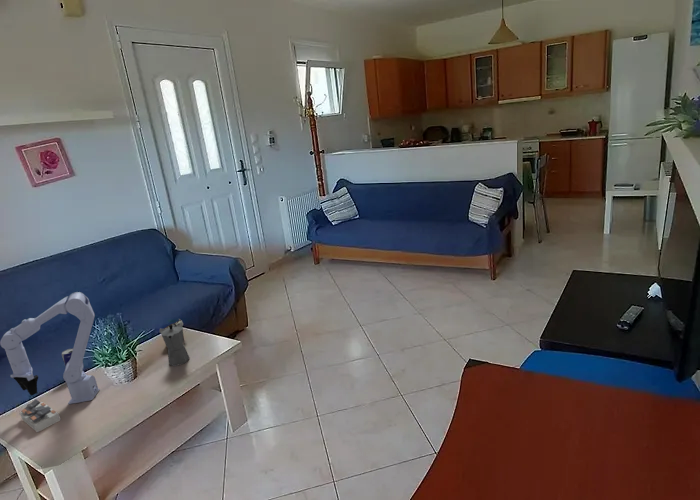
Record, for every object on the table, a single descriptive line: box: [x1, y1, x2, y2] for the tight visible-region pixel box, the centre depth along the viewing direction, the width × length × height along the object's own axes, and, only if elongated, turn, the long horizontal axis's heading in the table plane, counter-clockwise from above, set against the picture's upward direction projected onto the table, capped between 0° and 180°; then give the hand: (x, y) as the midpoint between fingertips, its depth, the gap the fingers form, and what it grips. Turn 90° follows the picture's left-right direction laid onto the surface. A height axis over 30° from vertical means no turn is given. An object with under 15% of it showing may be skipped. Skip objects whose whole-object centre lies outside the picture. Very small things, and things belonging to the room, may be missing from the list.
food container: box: [159, 318, 185, 340], centre depth 224 cm, size 12×6×10 cm, turn 147°
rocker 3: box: [30, 407, 51, 422], centre depth 169 cm, size 6×4×2 cm, turn 143°
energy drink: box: [61, 348, 73, 367], centre depth 204 cm, size 5×5×12 cm
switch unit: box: [19, 401, 61, 433], centre depth 173 cm, size 8×16×3 cm, turn 53°
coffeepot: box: [160, 323, 191, 367], centre depth 205 cm, size 15×9×18 cm, turn 13°
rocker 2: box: [25, 406, 45, 416], centre depth 172 cm, size 6×4×2 cm, turn 143°
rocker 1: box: [20, 398, 41, 415], centre depth 175 cm, size 6×4×2 cm, turn 143°
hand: (30, 391), depth 177 cm, fingers open, 7 cm apart
